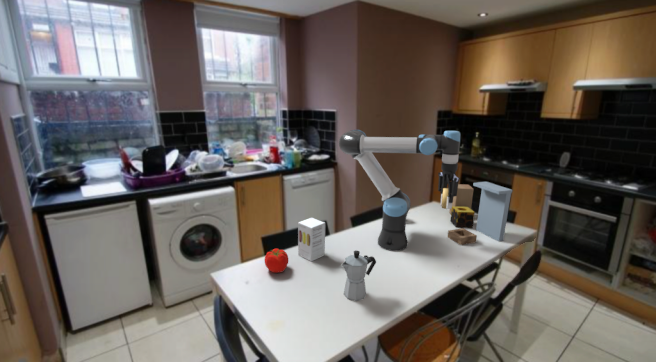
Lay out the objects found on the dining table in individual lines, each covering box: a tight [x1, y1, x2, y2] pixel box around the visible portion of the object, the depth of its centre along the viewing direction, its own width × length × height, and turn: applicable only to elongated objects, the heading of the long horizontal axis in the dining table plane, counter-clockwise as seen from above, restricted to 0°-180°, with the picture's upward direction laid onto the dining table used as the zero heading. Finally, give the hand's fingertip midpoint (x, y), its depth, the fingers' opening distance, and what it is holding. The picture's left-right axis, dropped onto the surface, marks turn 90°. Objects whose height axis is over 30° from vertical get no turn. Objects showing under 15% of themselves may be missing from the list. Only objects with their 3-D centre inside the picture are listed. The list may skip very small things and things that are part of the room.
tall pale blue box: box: [473, 181, 513, 243], centre depth 171 cm, size 9×17×28 cm, turn 20°
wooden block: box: [448, 183, 474, 215], centre depth 202 cm, size 10×10×20 cm
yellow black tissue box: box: [450, 206, 476, 229], centre depth 189 cm, size 10×10×10 cm
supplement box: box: [297, 217, 326, 262], centre depth 150 cm, size 10×9×17 cm
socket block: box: [447, 228, 478, 246], centre depth 169 cm, size 10×10×4 cm
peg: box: [441, 187, 449, 210], centre depth 162 cm, size 4×4×10 cm
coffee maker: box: [340, 250, 377, 302], centre depth 120 cm, size 15×9×18 cm, turn 114°
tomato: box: [264, 248, 289, 274], centre depth 137 cm, size 11×11×9 cm
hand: (445, 207), depth 163 cm, fingers closed on peg, 4 cm apart
